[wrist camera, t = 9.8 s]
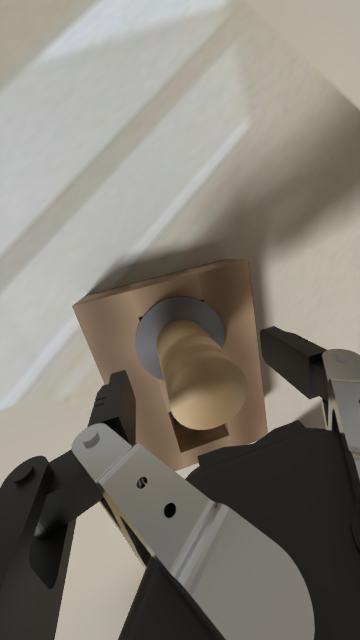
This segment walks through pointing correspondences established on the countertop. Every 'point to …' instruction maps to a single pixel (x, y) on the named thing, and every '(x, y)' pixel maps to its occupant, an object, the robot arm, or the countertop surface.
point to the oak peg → (191, 361)
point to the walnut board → (150, 392)
